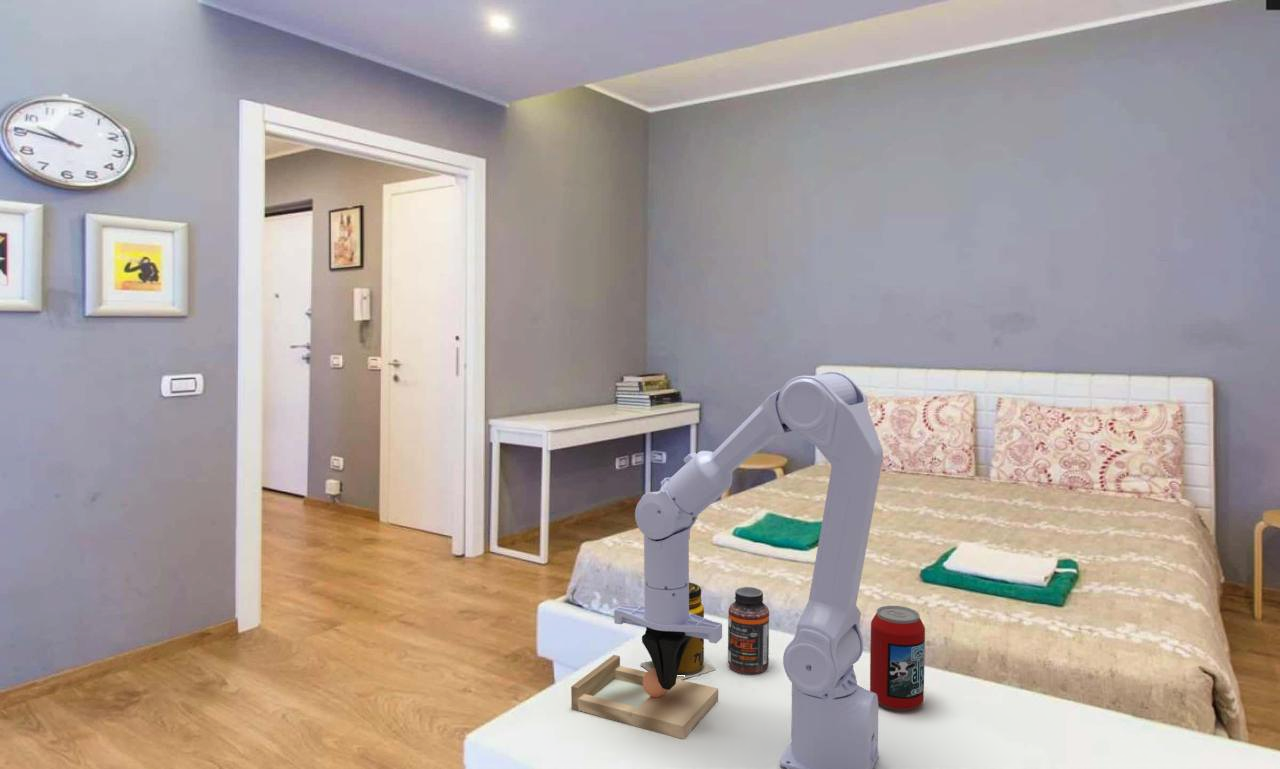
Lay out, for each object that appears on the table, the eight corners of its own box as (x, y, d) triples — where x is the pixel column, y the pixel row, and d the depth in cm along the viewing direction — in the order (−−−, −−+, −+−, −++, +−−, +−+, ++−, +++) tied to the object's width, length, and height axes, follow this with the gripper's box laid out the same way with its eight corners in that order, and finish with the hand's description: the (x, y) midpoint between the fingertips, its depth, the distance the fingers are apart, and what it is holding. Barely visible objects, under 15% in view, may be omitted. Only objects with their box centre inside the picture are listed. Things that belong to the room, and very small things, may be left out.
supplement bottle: (724, 672, 110) (724, 595, 109) (731, 656, 115) (731, 582, 115) (766, 678, 108) (766, 599, 107) (771, 660, 114) (771, 586, 113)
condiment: (716, 669, 111) (716, 588, 110) (668, 685, 106) (668, 600, 105) (686, 652, 117) (685, 575, 116) (639, 666, 112) (639, 586, 111)
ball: (676, 689, 100) (670, 663, 100) (664, 701, 97) (658, 673, 97) (653, 690, 102) (647, 664, 102) (641, 702, 99) (635, 675, 99)
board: (718, 700, 102) (718, 678, 101) (683, 739, 92) (683, 714, 92) (614, 675, 109) (613, 654, 109) (571, 708, 99) (571, 686, 99)
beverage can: (905, 719, 96) (907, 626, 95) (859, 700, 101) (860, 611, 101) (933, 703, 100) (935, 613, 100) (888, 684, 106) (889, 600, 105)
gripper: (731, 581, 98) (731, 684, 99) (632, 566, 105) (632, 662, 106) (709, 598, 92) (709, 708, 93) (605, 581, 99) (606, 683, 100)
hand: (667, 685), depth 99 cm, fingers closed, pressing on ball
